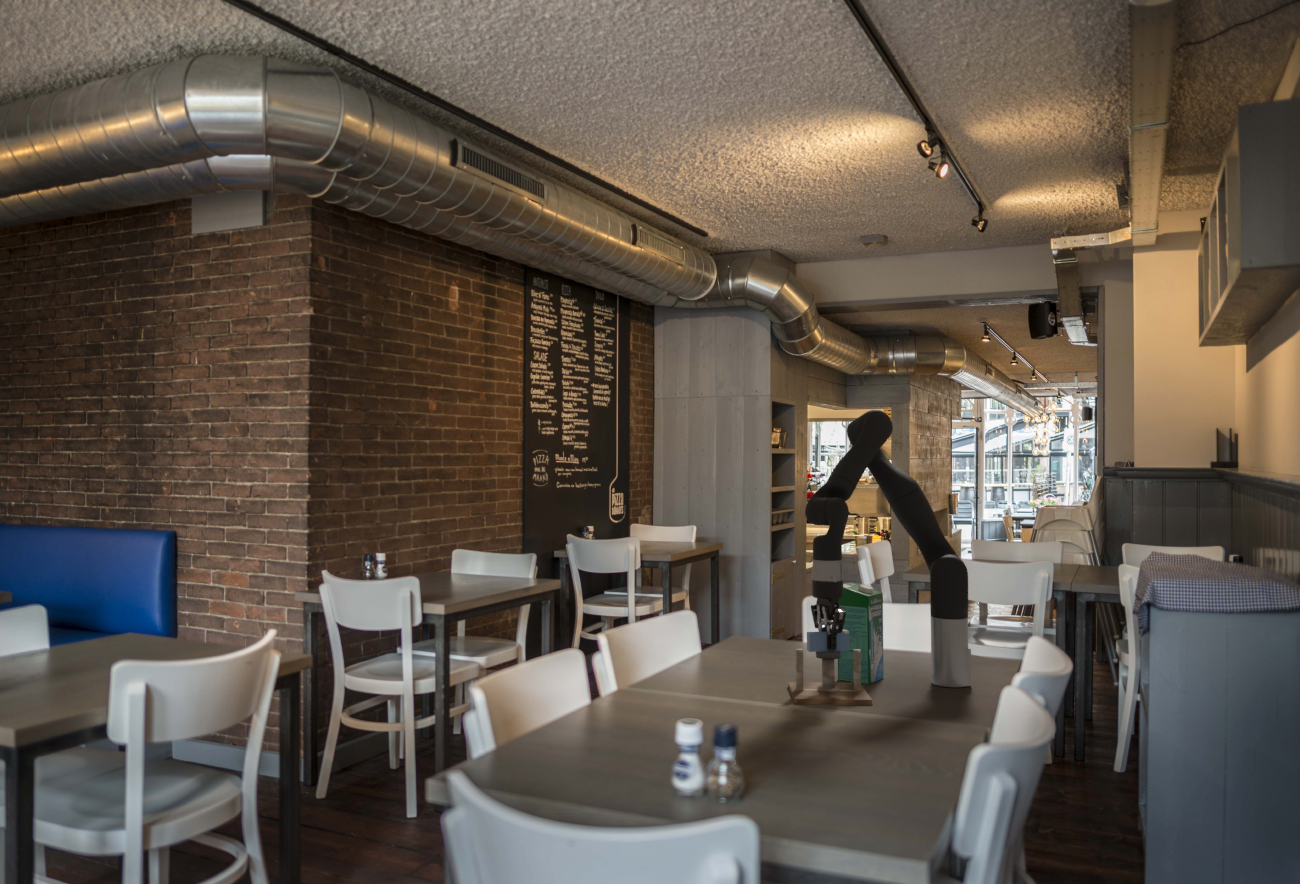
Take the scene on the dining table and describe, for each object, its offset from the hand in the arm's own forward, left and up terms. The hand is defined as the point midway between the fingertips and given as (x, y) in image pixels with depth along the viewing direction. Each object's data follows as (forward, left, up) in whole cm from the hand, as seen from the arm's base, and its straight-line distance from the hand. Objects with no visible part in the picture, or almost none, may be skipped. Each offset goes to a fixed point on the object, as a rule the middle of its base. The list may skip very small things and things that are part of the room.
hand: (828, 648), depth 229 cm
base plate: (0, 0, -12) cm, 12 cm away
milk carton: (-11, -19, -12) cm, 25 cm away
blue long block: (0, 0, -2) cm, 2 cm away
